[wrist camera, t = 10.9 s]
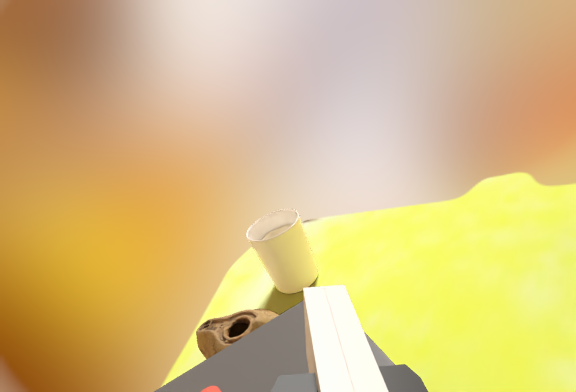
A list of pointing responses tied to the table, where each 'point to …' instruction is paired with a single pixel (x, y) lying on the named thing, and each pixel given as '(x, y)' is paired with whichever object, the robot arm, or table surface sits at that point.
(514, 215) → the table surface
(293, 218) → the candle holder
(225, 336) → the oil lamp
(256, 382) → the cabinet with door
